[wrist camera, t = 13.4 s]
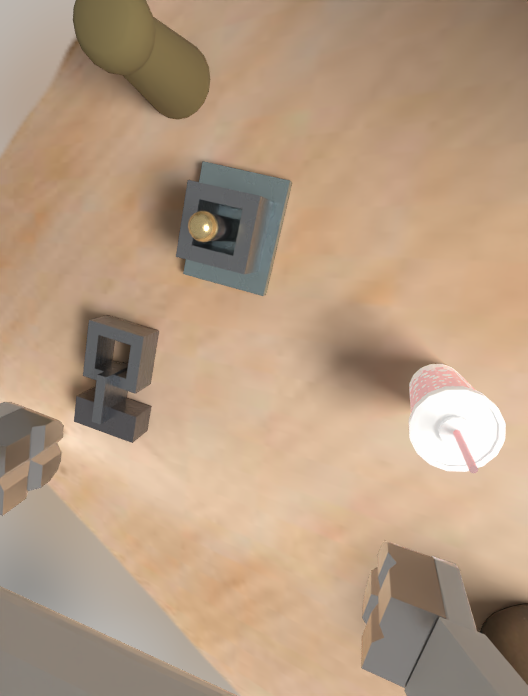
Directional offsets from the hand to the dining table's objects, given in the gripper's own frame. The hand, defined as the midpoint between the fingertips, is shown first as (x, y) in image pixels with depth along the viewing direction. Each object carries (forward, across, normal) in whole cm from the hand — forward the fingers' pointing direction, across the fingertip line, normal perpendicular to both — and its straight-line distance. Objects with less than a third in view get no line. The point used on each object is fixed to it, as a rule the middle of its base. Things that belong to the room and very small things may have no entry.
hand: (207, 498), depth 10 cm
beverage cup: (+29, -11, +4) cm, 32 cm away
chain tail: (+29, +19, +12) cm, 37 cm away
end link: (+28, +10, -5) cm, 30 cm away
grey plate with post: (+29, +10, -5) cm, 31 cm away
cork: (+29, +18, -16) cm, 38 cm away
